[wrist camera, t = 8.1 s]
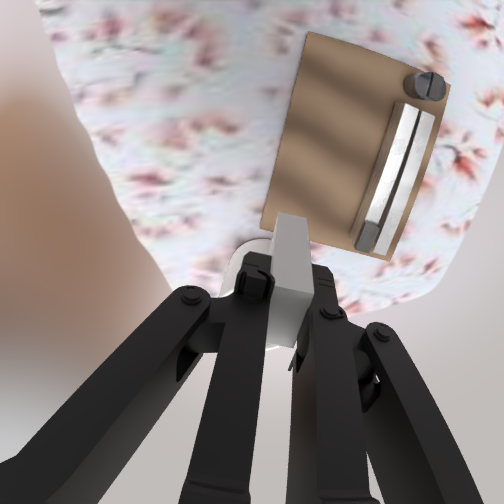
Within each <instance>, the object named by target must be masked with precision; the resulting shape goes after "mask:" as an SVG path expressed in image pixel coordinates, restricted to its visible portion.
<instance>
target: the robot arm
mask: <svg viewBox="0 0 504 504" xmlns="http://www.w3.org/2000/svg"><path fill="white" fill-rule="evenodd" d="M296 340H297V349H296V351H295V354H294V356H293V358H292V361H291V363H290V366H289V369H288V371H291V369H292V367H293V378H292V379H293V380H292V404H291V426H290V445H289V463H288V477H287V493H286V504H380V502H379V501H378V500H377V499H375V498H373V497H372V496H371V494H370V490H369V477H368V464H367V454H368V456H369V459H370V462H371V465H372V468H373V470H374V474H375V476H376V479H377V482H378V485H379V488H380V491H381V494H382V497H383V500H384V503H385V504H484V503H483V501H482V499H481V496H480V494H479V492H478V489H477V487H476V485H475V482H474V480H473V478H472V476H471V473H470V471H469V469H468V467H467V465H466V462H465V460H464V458H463V456H462V454H461V452H460V450H459V448H458V446H457V443H456V441H455V439H454V438H453V436H452V433H451V432H450V429H449V428H448V425H447V423H446V421H445V420H444V418H443V416H442V414H441V412H440V410H439V408H438V406H437V404H436V403H435V400H434V399H433V397H432V395H431V393H430V391H429V389H428V388H427V386H426V384H425V382H424V380H423V379H422V377H421V375H420V373H419V371H418V370H417V368H416V366H415V364H414V363H413V361H412V359H411V357H410V356H409V354H408V352H407V350H406V349H405V347H404V346H403V344H402V342H401V340H400V339H399V337H398V335H397V334H396V332H395V331H394V330H393V329H392V328H391V327H389V326H388V325H386V324H383V323H379V322H373V323H370V324H369V325H367V327H366V329H364V328H362V327H359V326H357V325H355V324H353V323H351V322H349V321H348V319H347V315H346V313H345V311H344V310H343V309H342V308H341V307H340V306H338V300H337V294H336V289H335V283H334V278H333V274H332V272H331V271H330V270H329V268H328V267H325V266H321V265H316V264H312V263H311V254H310V244H309V234H308V225H307V218H303V217H299V216H295V215H290V214H286V213H281V212H278V216H277V220H276V224H275V228H274V232H273V236H272V240H271V245H270V249H269V253H268V255H266V254H262V253H257V252H253V251H249V252H248V253H247V254H245V255H244V257H243V261H242V265H241V269H240V270H239V271H238V273H237V276H236V281H235V286H234V291H233V292H232V293H231V294H230V295H228V296H225V297H219V298H211V297H210V294H209V293H208V292H207V291H206V290H204V289H202V288H201V287H197V286H189V285H186V286H182V287H179V288H177V289H176V290H174V291H173V292H172V293H171V294H170V295H169V296H168V297H167V298H166V299H165V300H164V301H163V302H162V303H161V304H160V305H159V306H158V307H157V308H156V309H155V310H154V311H153V312H152V313H151V314H150V315H149V316H148V317H147V318H146V319H145V320H144V321H143V322H142V323H141V324H140V325H139V326H138V327H137V328H136V329H135V330H134V331H133V332H132V333H131V335H130V336H128V338H127V339H126V340H125V341H124V342H123V343H122V344H121V345H120V346H119V347H118V348H117V349H116V350H115V351H114V352H113V353H112V354H111V355H110V356H109V357H108V358H107V359H106V360H105V361H104V362H103V363H102V364H101V365H100V366H99V367H98V368H97V369H96V370H95V371H94V373H93V374H92V375H91V376H90V377H89V378H88V379H87V380H86V381H85V382H84V383H83V384H82V385H81V386H80V387H79V388H78V389H77V390H76V391H75V392H74V393H73V395H72V396H71V397H70V398H69V399H68V400H67V401H66V402H65V403H64V404H63V405H62V406H61V407H60V408H59V409H58V410H57V412H56V413H55V414H54V415H53V416H52V417H51V418H50V419H49V420H48V421H47V422H46V423H45V424H44V425H43V427H42V428H41V429H40V430H39V431H38V432H37V433H36V434H35V435H34V436H33V437H32V439H31V440H30V441H29V442H28V443H27V444H26V445H25V446H24V447H23V448H22V450H21V451H20V452H19V453H18V454H17V455H16V456H14V457H12V458H10V459H8V460H6V461H4V462H2V463H0V504H97V503H98V502H99V500H100V499H101V498H102V497H103V495H104V494H105V493H106V491H107V490H108V488H109V487H110V486H111V484H112V483H113V482H114V480H115V479H116V478H117V476H118V475H119V473H120V472H121V471H122V469H123V468H124V466H125V465H126V464H127V462H128V461H129V460H130V458H131V457H132V455H133V454H134V453H135V451H136V450H137V448H138V447H139V446H140V444H141V443H142V441H143V440H144V439H145V437H146V436H147V434H148V433H149V431H150V430H151V429H152V427H153V426H154V425H155V423H156V422H157V420H158V419H159V417H160V416H161V415H162V413H163V412H164V410H165V409H166V408H167V406H168V405H169V403H170V402H171V401H172V399H173V398H174V396H175V395H176V393H177V392H178V390H179V389H180V388H181V386H182V385H183V383H184V382H185V380H186V379H187V378H188V376H189V375H190V373H191V372H192V370H193V369H194V368H195V366H196V365H197V363H198V362H199V360H200V359H201V357H202V356H203V353H218V354H217V358H216V361H215V365H214V369H213V374H212V377H211V381H210V385H209V389H208V393H207V397H206V401H205V405H204V409H203V413H202V417H201V421H200V425H199V429H198V432H197V436H196V440H195V444H194V448H193V452H192V456H191V460H190V465H189V468H188V472H187V476H186V479H185V482H184V484H183V487H182V491H181V495H180V499H179V503H178V504H250V503H251V497H250V493H249V482H250V474H251V467H252V459H253V451H254V443H255V435H256V427H257V418H258V410H259V401H260V393H261V384H262V375H263V366H264V357H265V348H266V343H268V344H273V345H278V346H284V347H289V348H294V345H295V343H296ZM376 375H377V377H378V379H379V381H380V382H378V380H377V378H376ZM366 451H367V453H366Z"/></svg>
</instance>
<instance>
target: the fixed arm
mask: <svg viewBox="0 0 504 504" xmlns="http://www.w3.org/2000/svg"><path fill="white" fill-rule="evenodd" d="M403 90H404V92H405V93H406V95H407V96H409V97H410V98H412V99H417V100H426V101H434V102H437V101H440V100H442V99H443V98H444V97H445V95H446V90H447V88H446V83H445V81H444V77H442V76H440V75H439V74H437V73H435V72H424V73H413V74H409V75H407V76H406V77H405V78H404V80H403ZM434 119H435V116H433V115H431V114H429V113H427V112H424V111H422V110H419V111H418V115H417V118H416V121H415V124H414V127H413V130H412V133H411V137H410V140H409V143H408V145H407V148H406V151H405V154H404V157H403V160H402V163H401V166H400V168H399V171H398V174H397V177H396V179H395V182H394V185H393V187H392V190H391V193H390V195H389V198H388V200H387V203H386V205H385V208H384V210H383V213H382V215H381V218H380V220H379V223H378V225H379V227H380V229H379V232H378V234H377V236H376V239H375V241H374V243H373V246H372V248H371V249H372V251H373V253H377V254H381V255H384V256H385V255H386V253H387V251H388V248H389V246H390V244H391V241H392V239H393V236H394V234H395V231H396V229H397V227H398V224H399V222H400V219H401V216H402V214H403V211H404V209H405V206H406V204H407V201H408V198H409V195H410V193H411V190H412V187H413V184H414V182H415V179H416V176H417V173H418V170H419V167H420V164H421V161H422V158H423V155H424V152H425V149H426V146H427V143H428V139H429V136H430V133H431V129H432V126H433V123H434Z"/></svg>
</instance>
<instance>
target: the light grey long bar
mask: <svg viewBox="0 0 504 504" xmlns="http://www.w3.org/2000/svg"><path fill="white" fill-rule="evenodd" d="M418 111H419V109H417V108H415V107H413V106H411V105H408V104H406V103H400V102H395V106H394V109H393V112H392V115H391V119H390V122H389V125H388V128H387V131H386V134H385V137H384V140H383V143H382V146H381V149H380V152H379V155H378V158H377V161H376V164H375V167H374V170H373V173H372V175H371V178H370V181H369V184H368V187H367V189H366V192H365V195H364V197H363V200H362V203H361V205H360V208H359V211H358V213H357V216H356V219H355V221H354V224H353V226H352V229H351V231H350V234H349V236H350V238H351V241H352V244H353V246H354V248H355V250H358V251H361V252H365V253H368V254H369V253H370V250H371V248H372V246H373V243H374V241H375V239H376V236H377V234H378V232H379V229H380V227H379V225H378V223H379V220H380V218H381V215H382V213H383V210H384V208H385V205H386V203H387V200H388V198H389V195H390V193H391V190H392V187H393V185H394V182H395V179H396V177H397V174H398V171H399V168H400V166H401V163H402V160H403V157H404V154H405V151H406V148H407V145H408V143H409V140H410V137H411V133H412V130H413V127H414V124H415V121H416V118H417V115H418Z"/></svg>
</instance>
